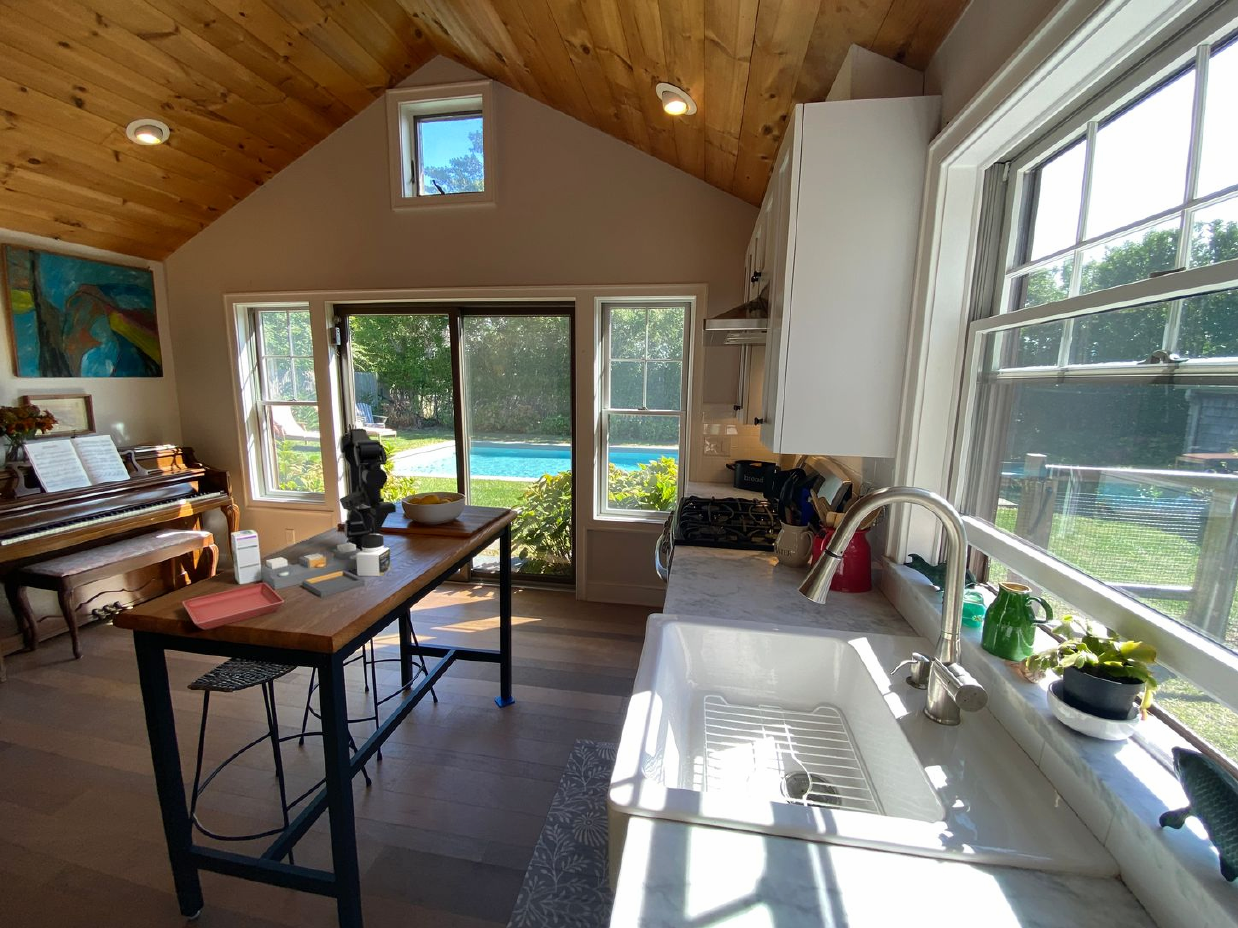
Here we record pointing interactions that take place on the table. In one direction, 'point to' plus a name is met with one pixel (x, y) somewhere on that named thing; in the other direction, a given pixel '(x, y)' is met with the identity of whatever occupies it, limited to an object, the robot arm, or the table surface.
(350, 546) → the breaker
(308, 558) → the block
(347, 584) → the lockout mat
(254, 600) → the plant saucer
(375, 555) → the medicine bottle
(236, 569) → the syrup box
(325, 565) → the grey slotted tray
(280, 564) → the breaker
